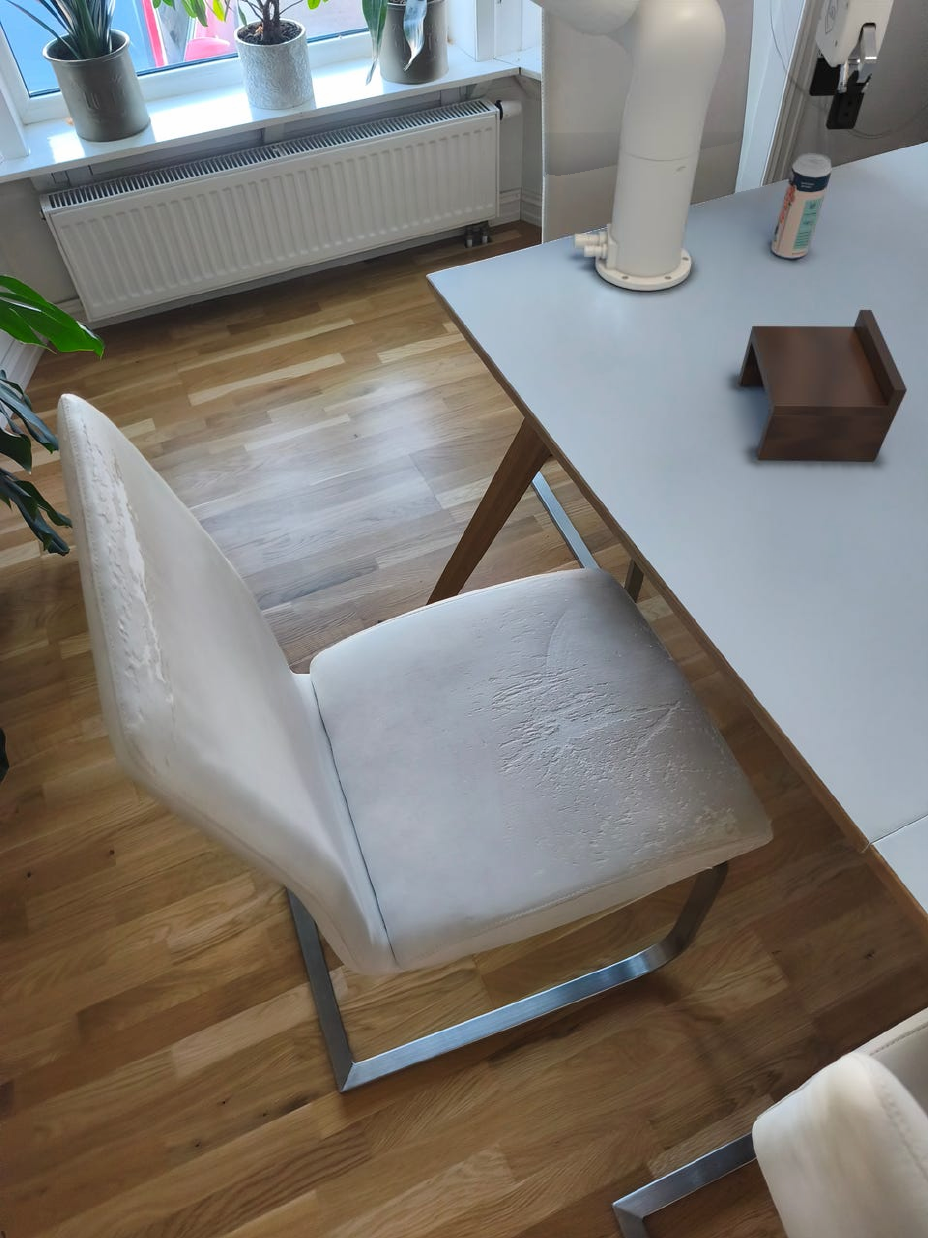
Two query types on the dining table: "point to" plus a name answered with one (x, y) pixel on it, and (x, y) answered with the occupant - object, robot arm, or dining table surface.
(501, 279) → the dining table surface
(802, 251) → the beer can
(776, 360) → the shelf
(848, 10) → the robot arm
